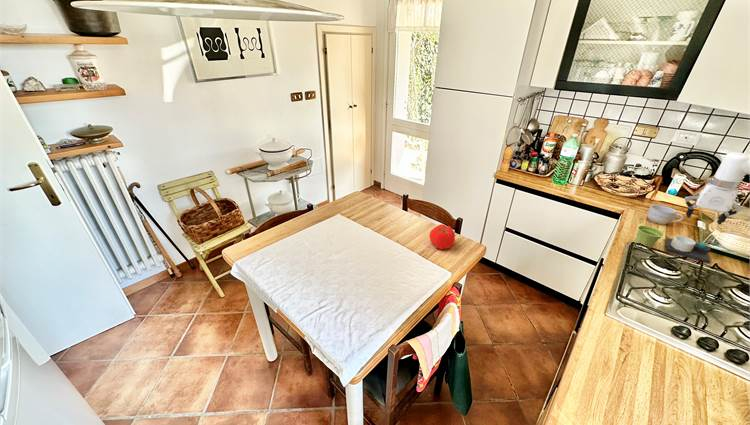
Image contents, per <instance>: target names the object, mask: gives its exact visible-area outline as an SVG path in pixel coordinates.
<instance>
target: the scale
mask: <svg viewBox="0 0 750 425" xmlns="http://www.w3.org/2000/svg"><path fill="white" fill-rule="evenodd" d="M664 240H665V248H666V252H667V253H671V254H674V255H678V256H682V257H685V258H688V259H692V260H695V261H699V260H700V259H703V262H702V263H706V264H710V262H711V259H710V256H709V253H710V251H711V250H712V249H711V247H709V246H708V245H707V247H706V248H705V249H704V248H700V247H698V246H697V244H698V243H699V242H696V244H695V246H694V247H693V249H692V251H690V252H682V251H679V250H676V249H674V248H673V247H672V246H671V242H672V240H673V238H669V237H666V238H665V239H664Z"/></svg>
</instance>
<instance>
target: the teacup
mask: <svg viewBox="0 0 750 425" xmlns="http://www.w3.org/2000/svg"><path fill="white" fill-rule="evenodd" d="M677 216H678V217H680V218H679V219H675V218H676V217H677ZM646 217H647V218H648V220H649V221H650V222H652V223H654V224H658V225H666V224H672V223H678V222H679V223H680V222H682V221H683V220H684V218H685V217H684V215H683V214H682V213H678V211H677V210H676V209H674V208H672V207H670V206H666V205H661V204H651V205H650V207H649V209H648V211H647V214H646Z"/></svg>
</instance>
